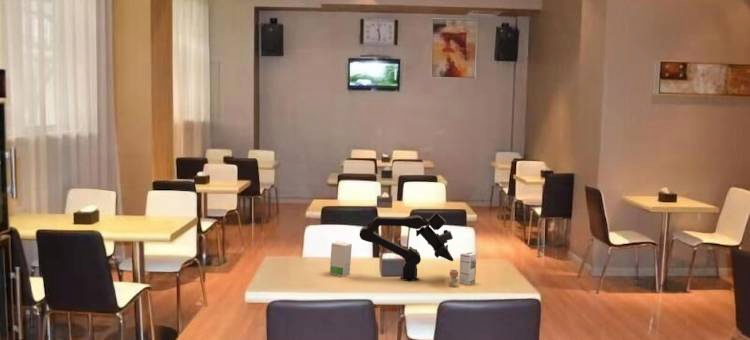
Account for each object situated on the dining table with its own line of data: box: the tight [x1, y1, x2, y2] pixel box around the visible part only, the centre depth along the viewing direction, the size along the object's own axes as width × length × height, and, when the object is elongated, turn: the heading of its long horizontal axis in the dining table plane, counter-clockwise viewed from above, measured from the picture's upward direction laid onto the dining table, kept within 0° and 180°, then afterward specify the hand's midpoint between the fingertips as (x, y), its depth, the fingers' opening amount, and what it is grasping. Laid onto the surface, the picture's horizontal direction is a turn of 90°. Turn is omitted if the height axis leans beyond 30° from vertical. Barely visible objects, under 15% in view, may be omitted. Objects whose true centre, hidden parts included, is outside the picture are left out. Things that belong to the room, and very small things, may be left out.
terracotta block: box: [449, 269, 459, 278], centre depth 339 cm, size 4×4×4 cm
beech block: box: [448, 275, 459, 288], centre depth 327 cm, size 4×4×4 cm
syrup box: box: [458, 251, 477, 286], centre depth 333 cm, size 6×6×14 cm
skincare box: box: [329, 240, 353, 278], centre depth 339 cm, size 8×7×16 cm
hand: (452, 260), depth 333 cm, fingers closed
